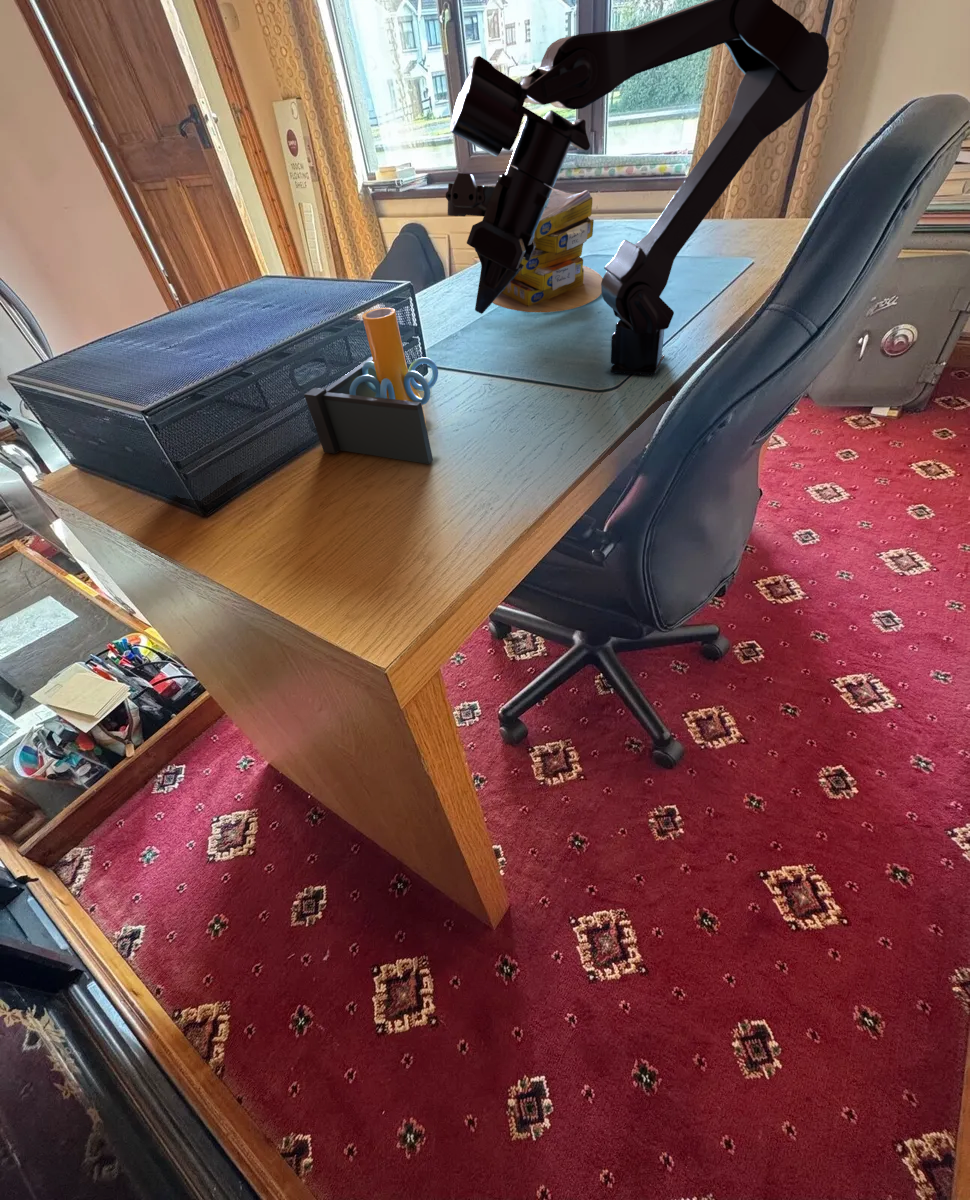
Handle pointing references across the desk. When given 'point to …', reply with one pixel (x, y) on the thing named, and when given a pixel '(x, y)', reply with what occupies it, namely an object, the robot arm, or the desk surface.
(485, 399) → the desk surface
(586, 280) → the stacked yellow boxes
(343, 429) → the corner bracket
